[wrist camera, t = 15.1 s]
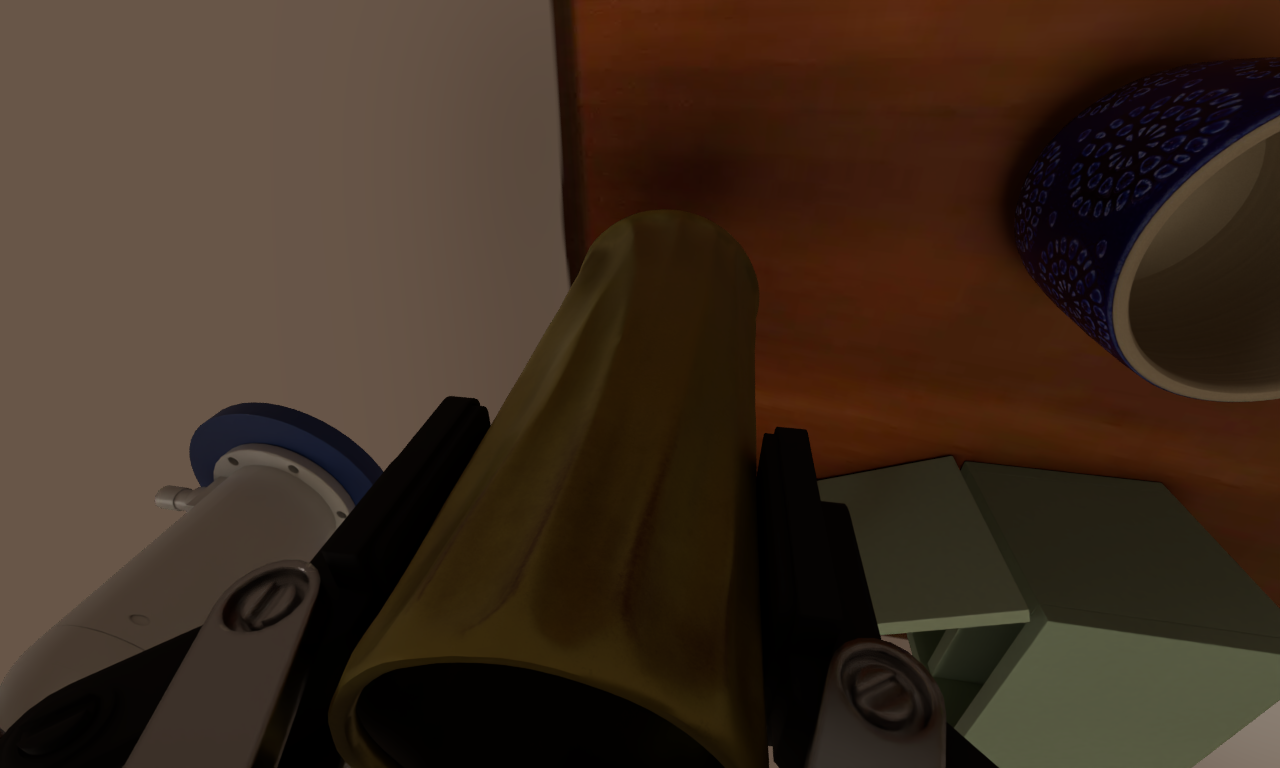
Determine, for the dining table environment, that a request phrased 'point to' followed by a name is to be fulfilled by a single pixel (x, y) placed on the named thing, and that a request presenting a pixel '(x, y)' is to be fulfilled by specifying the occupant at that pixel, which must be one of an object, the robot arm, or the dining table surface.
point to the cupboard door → (926, 549)
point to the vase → (592, 541)
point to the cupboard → (1105, 630)
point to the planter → (1169, 227)
